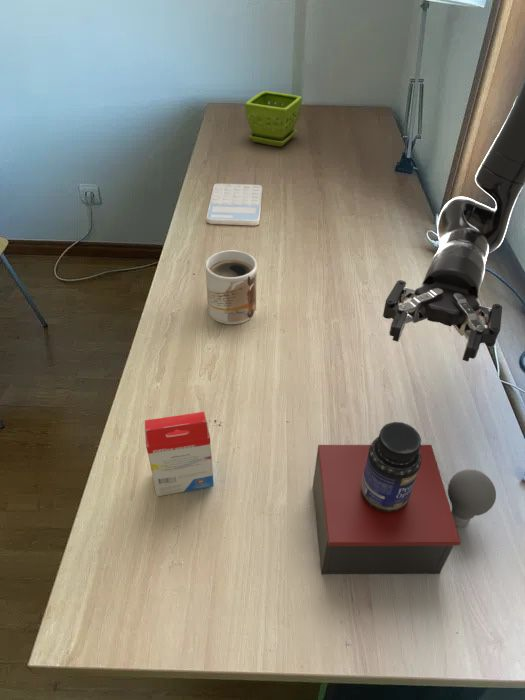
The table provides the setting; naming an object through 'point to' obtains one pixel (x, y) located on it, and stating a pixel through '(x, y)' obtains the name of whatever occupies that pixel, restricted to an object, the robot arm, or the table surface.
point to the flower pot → (272, 117)
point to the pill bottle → (391, 467)
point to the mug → (231, 286)
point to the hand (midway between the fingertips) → (431, 345)
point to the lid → (376, 526)
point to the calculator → (235, 204)
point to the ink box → (179, 453)
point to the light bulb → (470, 495)
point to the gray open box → (372, 550)
